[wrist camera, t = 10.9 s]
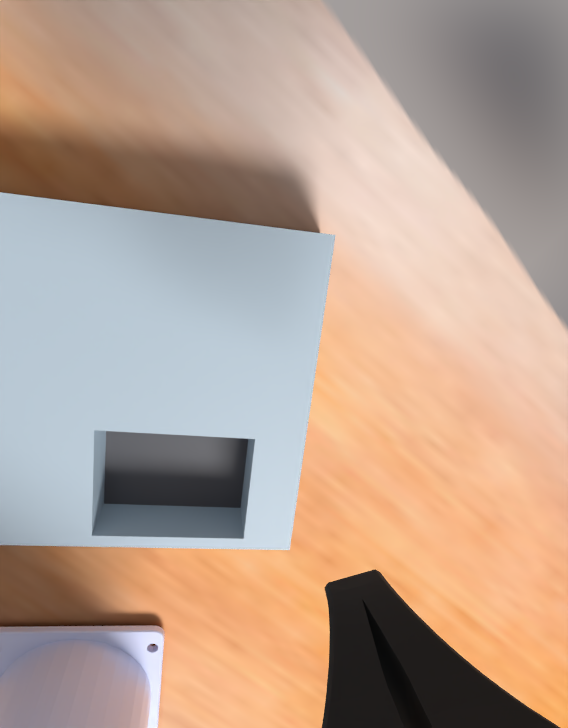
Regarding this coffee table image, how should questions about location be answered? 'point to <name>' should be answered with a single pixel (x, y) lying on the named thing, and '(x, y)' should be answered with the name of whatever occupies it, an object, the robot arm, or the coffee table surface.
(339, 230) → the coffee table surface
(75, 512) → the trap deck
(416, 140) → the coffee table surface
